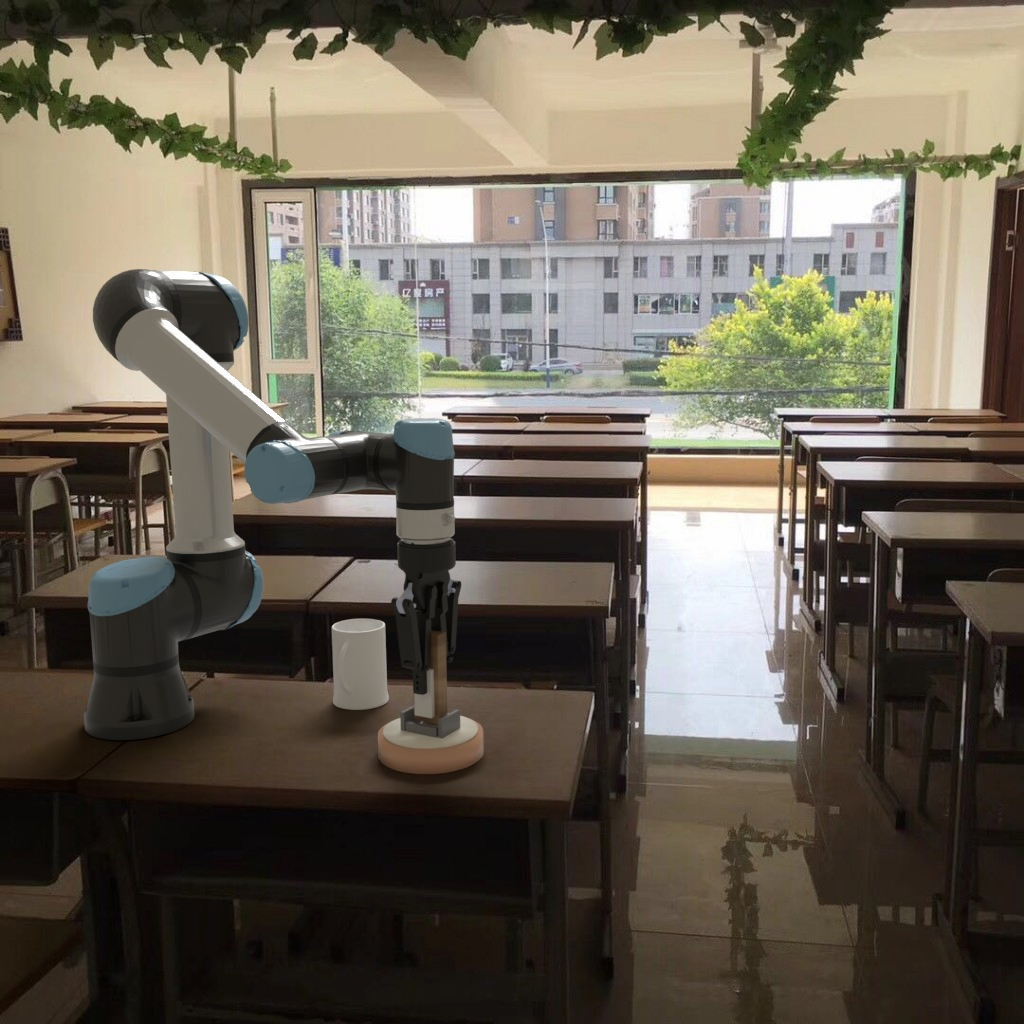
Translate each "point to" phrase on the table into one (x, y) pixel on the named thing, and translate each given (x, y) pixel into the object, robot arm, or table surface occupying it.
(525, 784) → the table surface
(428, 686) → the robot arm
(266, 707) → the table surface
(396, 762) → the peach disc
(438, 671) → the tall wooden post
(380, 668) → the mug
